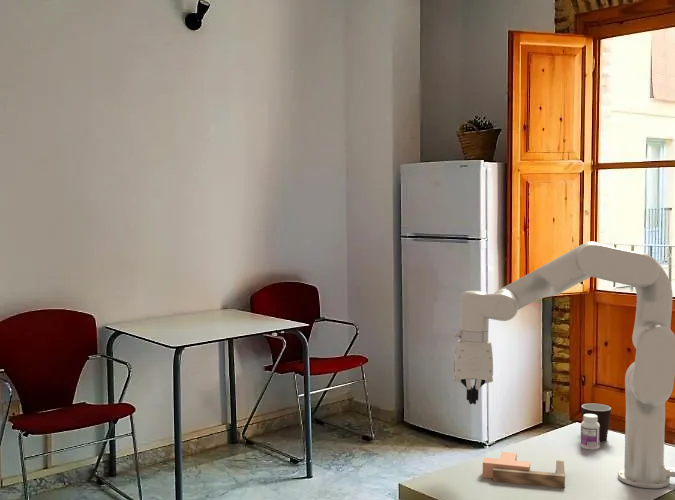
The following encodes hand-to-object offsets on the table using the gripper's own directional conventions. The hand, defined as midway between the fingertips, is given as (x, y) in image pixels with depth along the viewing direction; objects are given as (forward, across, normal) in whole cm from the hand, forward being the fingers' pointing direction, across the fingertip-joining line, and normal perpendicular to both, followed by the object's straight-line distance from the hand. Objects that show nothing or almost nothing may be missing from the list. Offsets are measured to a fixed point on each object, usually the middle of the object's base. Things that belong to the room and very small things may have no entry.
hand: (472, 402), depth 210 cm
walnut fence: (+18, +15, -6) cm, 24 cm away
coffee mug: (+18, +42, +27) cm, 53 cm away
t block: (+18, +9, -4) cm, 21 cm away
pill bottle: (+18, +38, +18) cm, 46 cm away
